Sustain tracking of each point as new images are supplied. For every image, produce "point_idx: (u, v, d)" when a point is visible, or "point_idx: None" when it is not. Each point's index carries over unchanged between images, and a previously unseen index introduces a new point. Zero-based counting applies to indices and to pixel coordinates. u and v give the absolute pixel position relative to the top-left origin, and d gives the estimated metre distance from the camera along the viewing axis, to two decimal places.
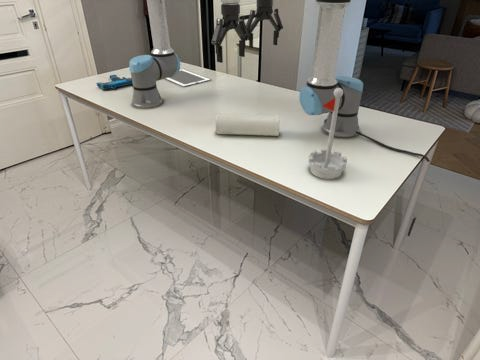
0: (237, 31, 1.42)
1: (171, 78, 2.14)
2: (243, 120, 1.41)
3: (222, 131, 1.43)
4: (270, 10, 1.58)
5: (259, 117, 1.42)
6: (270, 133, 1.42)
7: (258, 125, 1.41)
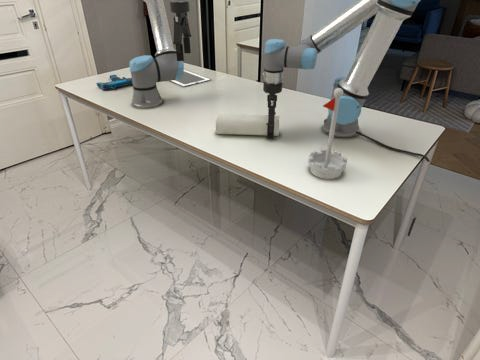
0: None
1: None
2: (243, 120, 1.41)
3: (222, 131, 1.43)
4: None
5: (259, 117, 1.42)
6: None
7: (258, 125, 1.41)
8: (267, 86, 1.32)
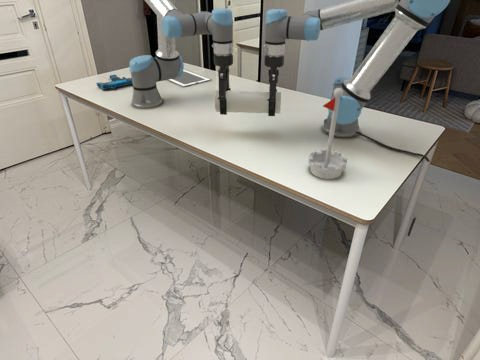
0: None
1: None
2: (243, 96, 1.36)
3: None
4: None
5: (259, 93, 1.36)
6: None
7: (259, 102, 1.35)
8: (268, 59, 1.27)
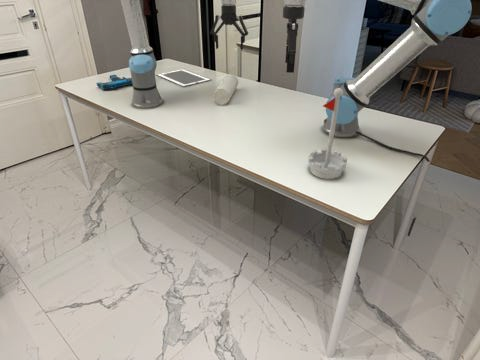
0: (221, 27, 1.78)
1: (171, 78, 2.14)
2: (222, 81, 1.86)
3: None
4: None
5: (222, 83, 1.79)
6: None
7: None
8: (288, 10, 1.17)
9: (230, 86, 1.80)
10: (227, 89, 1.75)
